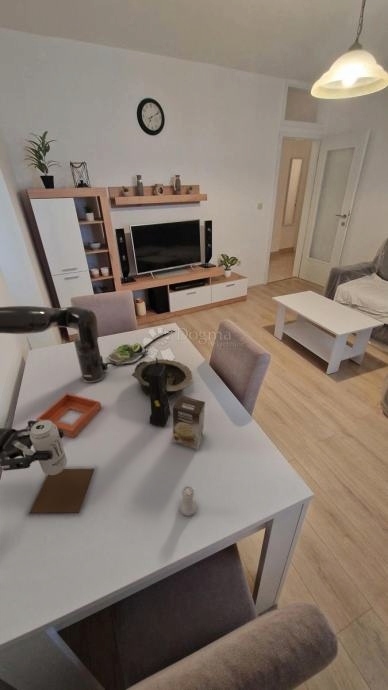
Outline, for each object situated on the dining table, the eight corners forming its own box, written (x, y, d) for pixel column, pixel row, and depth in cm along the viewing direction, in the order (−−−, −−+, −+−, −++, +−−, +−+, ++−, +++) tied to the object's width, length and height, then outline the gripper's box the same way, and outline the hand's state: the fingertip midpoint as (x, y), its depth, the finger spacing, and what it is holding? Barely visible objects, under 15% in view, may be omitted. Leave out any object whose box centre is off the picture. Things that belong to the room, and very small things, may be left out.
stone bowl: (123, 396, 113) (121, 377, 109) (153, 368, 134) (152, 351, 131) (177, 412, 105) (177, 392, 101) (200, 380, 126) (201, 362, 122)
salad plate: (131, 371, 130) (130, 362, 127) (100, 363, 135) (98, 355, 133) (151, 351, 145) (150, 344, 143) (122, 345, 151) (121, 337, 149)
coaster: (51, 469, 84) (50, 468, 84) (94, 469, 84) (93, 468, 84) (29, 513, 73) (29, 512, 73) (79, 513, 73) (78, 512, 73)
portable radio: (164, 429, 99) (161, 372, 86) (148, 426, 100) (143, 369, 87) (170, 414, 105) (168, 358, 93) (155, 411, 106) (151, 356, 94)
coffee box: (172, 443, 93) (171, 407, 86) (179, 429, 99) (178, 394, 91) (197, 450, 91) (199, 414, 83) (203, 436, 96) (205, 400, 88)
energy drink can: (61, 477, 72) (48, 437, 64) (38, 476, 72) (22, 436, 64) (71, 458, 77) (59, 418, 69) (49, 457, 77) (36, 417, 70)
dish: (68, 399, 112) (66, 392, 110) (101, 408, 108) (100, 401, 106) (38, 426, 99) (35, 419, 97) (73, 438, 95) (71, 431, 93)
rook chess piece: (179, 500, 76) (178, 482, 72) (195, 499, 77) (195, 481, 73) (179, 517, 72) (179, 499, 68) (196, 516, 73) (197, 498, 69)
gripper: (-36, 457, 61) (40, 458, 62) (2, 412, 74) (65, 412, 74) (-24, 478, 65) (48, 479, 66) (11, 432, 78) (71, 432, 78)
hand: (57, 444), depth 70 cm, fingers closed on energy drink can, 6 cm apart
